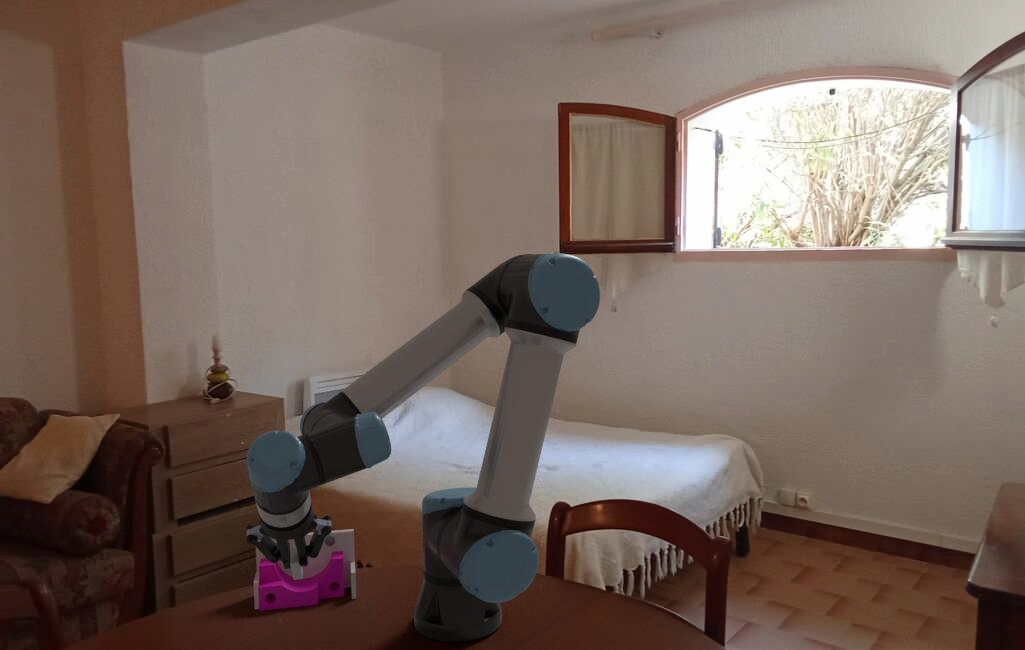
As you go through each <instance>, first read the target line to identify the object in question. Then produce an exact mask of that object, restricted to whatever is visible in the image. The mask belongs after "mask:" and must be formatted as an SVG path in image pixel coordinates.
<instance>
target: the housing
mask: <svg viewBox="0 0 1025 650" xmlns="http://www.w3.org/2000/svg"><path fill="white" fill-rule="evenodd" d="M313 533H314V531H313V532H312V531H311V532H310V533H308V534H307V535H306V536H305V541H306V546H307V545H310V541H311V538H312V536H313ZM271 539H272V540H273V542H274V543H275V544H276V545H277V546H278V544H277V541H276V540H275V539H273V538H271ZM289 543H290V548H296V545H295V541H294V539H291V540H289ZM278 549H279V547H278ZM339 551H343V573H344V589H345V588H347V589H348V588H350V589H351V590H350V591H351V600H356V599H357V580H356V560H355V559H356V558H355V530H354V528H351V529H348V528H347V529H336V530H332V532H331V533H330V534H329V535H327V536H326V537H325V540H324V542H323V545H322V547H321V549H320V552H319V554H318V557H316V558H311V557H308V565H307V566H303V567H302V569H303V578H310V577H313V576H315V575H317V574H319V573H320V572H321V571H323V570H324V569H325V567H326V566H327V565H328V563H329V561H330V559H331V555H332V552H339ZM263 558H266V557H265V556H264V555H263V554H262V553H261V552H260V550H259V549H258V548H257V547H256V546H255V561H256V562H255V563H256V565H255V566H256V571H255V572H256V573H255V576H254V579H253V596H254V597H253V599H254V600H253V601H254V602H253V603H254V610H259V594H258V587H259V582H260V580H259V564H260V560H261V559H263ZM277 563H278V565H279V567H280V568H281V570H282V571H283V572H285V573H286V574H287V575H289V576H291V577H293V575H292V570H291V568H289V569H285V568H284V565H283V562H282V561H281V560H278V562H277ZM332 583H337V582H332Z"/></svg>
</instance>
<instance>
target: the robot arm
mask: <svg viewBox="0 0 1025 650" xmlns="http://www.w3.org/2000/svg"><path fill="white" fill-rule="evenodd" d="M600 289H601V288H600V284H599V280H598V278H597V275H595V273H594V271H593V269H592V268H591V267H590V266H589V264H588V263H586V261H584V260H583V259H581V258H579V257H577V256H576V255H573V254H568V253H561V252H560V253H559V252H555V251H553V252H548V253H547V252H546V253H534V254H533V253H527V254H526V253H525V254H519V255H515V256H513V257H510V258H509V259H507V260H505V261H503V262H500V264H499V265H497V266H496V267H495V268H493V269H492V270H491V271H489V272H488V273H486V274H485V275H484V276H483V277H482V278H480V279H479V280H477V282H475V283H473V285H471V286H470V287H468V288H467V289H466V290H464V291H463V292H462V294H461V300H460V302H458V303H457V304H456V305H454V306H453V307H452V308H451V309H449V310H448V311H446V312H445V313H444V314H443V315H441V316H440V317H438V318H437V319H436V320H434V321H433V322H432V323H430V324H429V325H427V326H426V327H425V328H424V329H422V330H421V331H419V333H417V334H416V335H414V336H413V337H412V338H410V339H409V340H408V341H406V342H405V343H404V344H402V345H401V346H400V347H398V348H397V349H396V350H394V351H393V352H392V353H390V354H389V355H388V356H386V357H385V358H384V359H382V360H381V361H379V362H378V363H377V364H376V365H375V366H373V367H372V368H370V369H369V370H368V371H366V372H365V373H364V374H362V375H361V376H360V377H359V378H357V379H356V380H354V381H353V382H352V383H351V384H349V385H348V386H346V387H345V388H344V389H342V390H341V391H340V392H338V393H337V394H335V395H334V396H333V397H331V398H330V399H328V400H327V401H324V402H323V401H322V402H317V403H314V404H312V405H310V407H308V408H307V409H305V411H304V412H303V414H302V416H301V418H300V423H299V431H300V434H301V435H299V436H297V435H295V434H294V433H292V432H290V431H287V430H270V431H267V432H265V433H262V434H261V435H259V436H257V437H256V439H254V441H253V442H252V443H251V444H250V446H249V447H248V450H247V453H246V464H247V470H246V472H247V475H248V479H249V482H250V486H251V490H252V493H253V497H254V502H255V504H256V509H257V512H258V516H259V519H260V521H259V523H258V524H259V525H256V524H251V523H250V524H248V525H246V538H245V539H246V543H248V544H251V545H253V546H255V548H256V547H257V548H258V549H259V550H260V552H261V553H262V554H263V555H264V556H265V557H266V558H267V559H268V560H269V561H270V562H271V563H277V562H278V560H281V561H282V562H283V565H284V568H285V569H289V568H291V570H292V575H293V580H297V579H303V569H302V567H303V566H307V565H308V557H311V558H316V557H318V554H319V552H320V549H321V547H322V545H323V542H324V540H325V537H326V536H327V535H329V534H330V533H331V532H332V531H333V530H332V529H333V528H332V516H330V515H325V516H322V518H318V516H317V515H316V514H315V513H314V512H313V511H314V510H313V506H312V500H311V490H314V489H315V488H318V487H320V486H323V485H326V484H328V483H331V482H334V481H336V480H339V479H342V478H344V477H347V476H350V475H352V474H353V475H354V474H356V473H358V472H361V471H363V470H366V469H372V468H373V467H374V466H376V465H378V464H380V463H382V462H385V461H387V460H388V459H389V458H390V457H391V454H392V444H391V438H390V435H389V432H388V430H387V427H386V424H385V422H384V420H383V419H384V418H385V417H387V416H388V415H389V414H390V413H392V412H393V411H394V410H395V409H396V408H398V407H399V406H400V405H401V404H403V403H404V402H406V401H407V400H408V399H410V398H411V397H412V396H414V395H415V394H417V392H419V391H420V390H421V389H422V388H423V387H425V386H427V385H428V384H429V383H430V382H432V381H433V380H435V379H436V378H437V377H439V375H441V374H443V372H445V371H446V370H447V369H448V368H450V367H451V366H452V365H454V364H455V363H456V362H458V361H459V360H460V359H462V358H463V357H464V356H466V355H467V354H468V353H469V352H470V351H472V350H473V349H474V348H476V347H477V346H479V345H480V344H481V343H482V342H483V341H485V340H486V339H487V338H494V339H497V338H499V337H500V336H501V335H502V334H504V333H506V335H507V336H508V339H509V341H510V343H509V344H510V345H509V350H508V353H507V357H506V362H505V365H504V370H503V374H502V378H501V383H500V388H499V392H498V395H497V399H496V404H495V408H494V412H493V417H492V420H491V421H492V422H491V425H490V431H489V434H488V437H487V443H486V447H485V450H484V455H483V459H482V462H481V463H482V464H481V467H480V468H481V469H480V473H479V476H478V480H477V484H476V487H469V486H467V487H454V488H453V487H452V488H446V489H445V488H444V489H440V490H435V491H433V492H429V493H428V494H426V495H425V496H424V497H423V499H422V500H421V512H420V517H421V530H422V531H421V533H422V538H421V539H422V540H421V541H422V566H423V567H422V569H423V572H422V573H423V574H422V575H423V579H422V583H421V586H420V590H419V594H418V596H417V600H416V604H415V608H414V611H413V618H414V619H413V620H414V621H413V623H414V628H415V630H416V631H417V632H418V633H419V634H420V635H422V636H424V637H425V638H428V639H431V640H435V641H440V642H446V643H447V642H449V643H457V642H458V643H459V642H460V643H461V642H468V641H474V640H478V639H481V638H483V637H486V636H489V635H491V634H493V633H494V632H496V631H497V630H498V629H499V628H500V627H501V624H502V623H503V613H502V611H503V610H502V604H501V603H505V602H509V601H511V600H513V599H515V598H516V597H517V596H518V595H520V594H521V593H524V592H525V591H526V590H527V589H528V588H529V587H530V585H531V584H532V582H533V581H534V579H535V577H536V575H537V572H538V569H539V564H540V563H539V562H540V558H539V557H540V556H539V551H538V548H537V546H536V543H535V542H534V540H533V539H532V536H533V531H534V529H535V528H534V527H535V523H536V517H537V515H536V513H535V512H534V510H533V509H532V507H531V504H530V503H531V501H530V500H531V496H532V492H533V488H534V483H535V480H536V476H537V470H538V467H539V463H540V458H541V455H542V450H543V446H544V441H545V437H546V432H547V428H548V424H549V420H550V416H551V412H552V407H553V403H554V399H555V394H556V390H557V386H558V381H559V378H560V373H561V368H562V365H563V360H564V356H565V355H566V353H568V352H569V351H571V350H573V348H576V346H577V343H578V338H579V334H580V332H581V329H582V328H584V327H585V326H587V325H588V323H590V322H592V320H593V319H594V318H595V316H596V315H597V312H598V310H599V307H600V302H601V290H600ZM313 530H314V531H313ZM312 531H313V532H314V533H313V536H312V538H311V541H310V545H307V546H306V541H305V536H306V535H307V534H308V533H312ZM271 538H273V539H275V540H276V541H277V544H278V546H277V545H276V544H275V543H274V542H273V540H272V539H271ZM291 539H294V541H295V545H296V548H290V543H289V540H291ZM278 547H279V549H278Z"/></svg>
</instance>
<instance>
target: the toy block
mask: <svg viewBox="0 0 1025 650" xmlns="http://www.w3.org/2000/svg"><path fill="white" fill-rule="evenodd" d="M259 580H260V582H259V587H258V594H259V609H258V611H269V610H270V611H271V610H278V609H291V608H298V607H307V606H309V607H310V606H317V605H319V600H320V599H321V600H322V599H328V598H329V599H331V598H339V597H340V598H341V597H345V588H344V573H343V551H339V552H332V555H331V559H330V561H329V563H328V565H327V566H326V567H325V569H324V570H323V571H321V572H320V573H319V574H317V575H315V576H313V577H310V578H303V579H297V580H293V577H291V576H289V575H287V574H286V573H285V572H283V571H282V570H281V568H280V567H279V565H278V563H271V562H270V561H269V560H268V559H267V558H263V559H261V560H260V564H259ZM332 582H337V583H332Z"/></svg>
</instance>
